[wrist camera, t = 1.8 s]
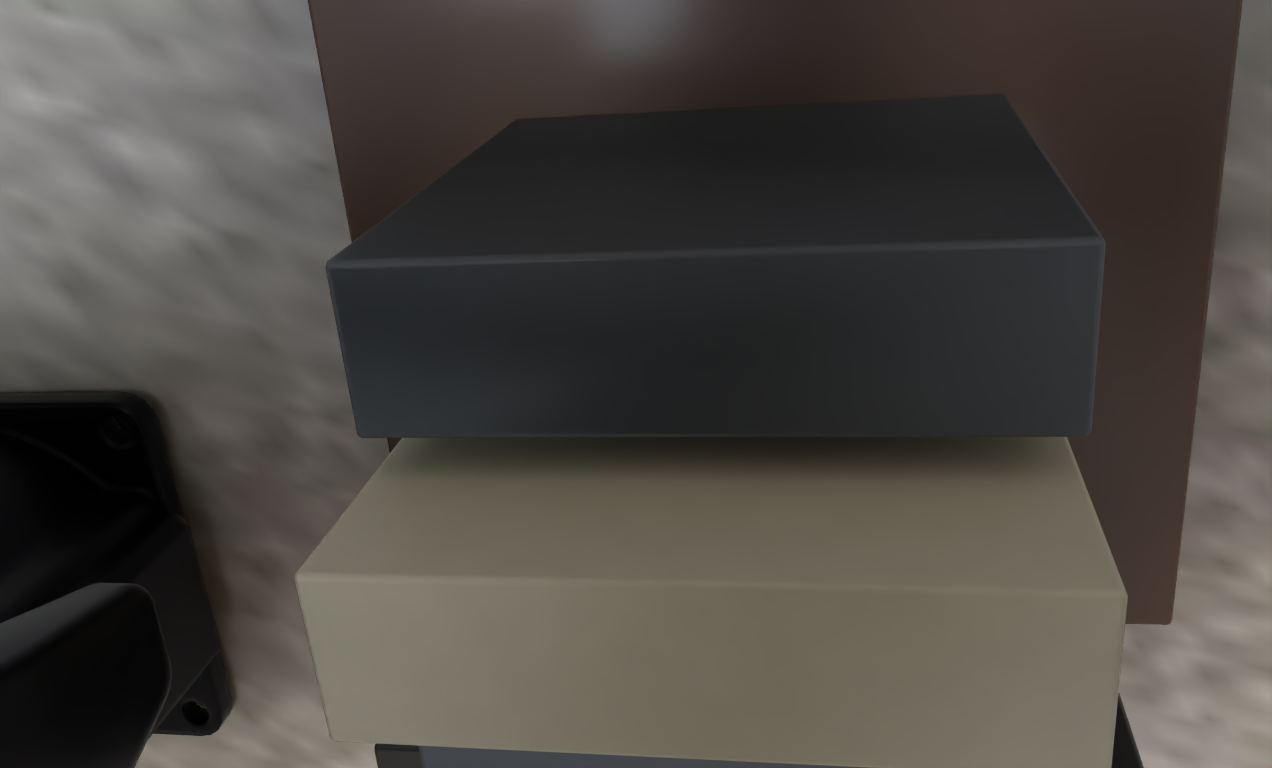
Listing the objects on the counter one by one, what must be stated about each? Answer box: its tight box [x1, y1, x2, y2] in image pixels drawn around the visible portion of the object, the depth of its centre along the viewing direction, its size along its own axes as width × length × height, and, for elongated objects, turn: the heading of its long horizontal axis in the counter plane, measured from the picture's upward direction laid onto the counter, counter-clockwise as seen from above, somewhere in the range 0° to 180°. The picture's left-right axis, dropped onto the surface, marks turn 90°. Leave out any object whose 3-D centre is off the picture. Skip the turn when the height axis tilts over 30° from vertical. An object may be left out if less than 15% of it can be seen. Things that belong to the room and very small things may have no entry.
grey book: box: [418, 746, 869, 768], centre depth 14 cm, size 6×2×6 cm, turn 95°
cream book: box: [295, 437, 1128, 768], centre depth 12 cm, size 6×2×8 cm, turn 95°
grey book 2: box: [326, 94, 1106, 438], centre depth 12 cm, size 6×2×6 cm, turn 95°
